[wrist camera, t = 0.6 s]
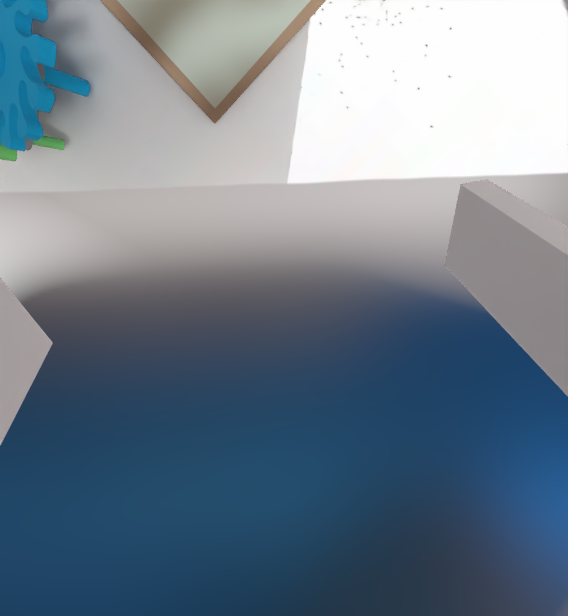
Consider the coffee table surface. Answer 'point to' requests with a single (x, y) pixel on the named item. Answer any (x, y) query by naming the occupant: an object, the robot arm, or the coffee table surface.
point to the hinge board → (213, 41)
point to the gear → (28, 78)
